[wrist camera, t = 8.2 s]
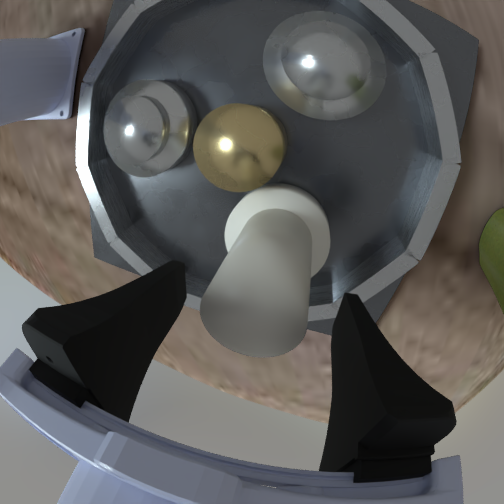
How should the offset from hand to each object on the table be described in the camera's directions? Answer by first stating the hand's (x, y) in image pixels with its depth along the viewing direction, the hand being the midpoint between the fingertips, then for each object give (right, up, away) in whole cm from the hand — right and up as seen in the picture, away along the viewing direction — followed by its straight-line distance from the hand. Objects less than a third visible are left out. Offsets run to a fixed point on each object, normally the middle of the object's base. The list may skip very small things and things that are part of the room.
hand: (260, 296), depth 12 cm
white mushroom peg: (+1, +3, +5) cm, 6 cm away
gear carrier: (0, +8, +3) cm, 9 cm away
